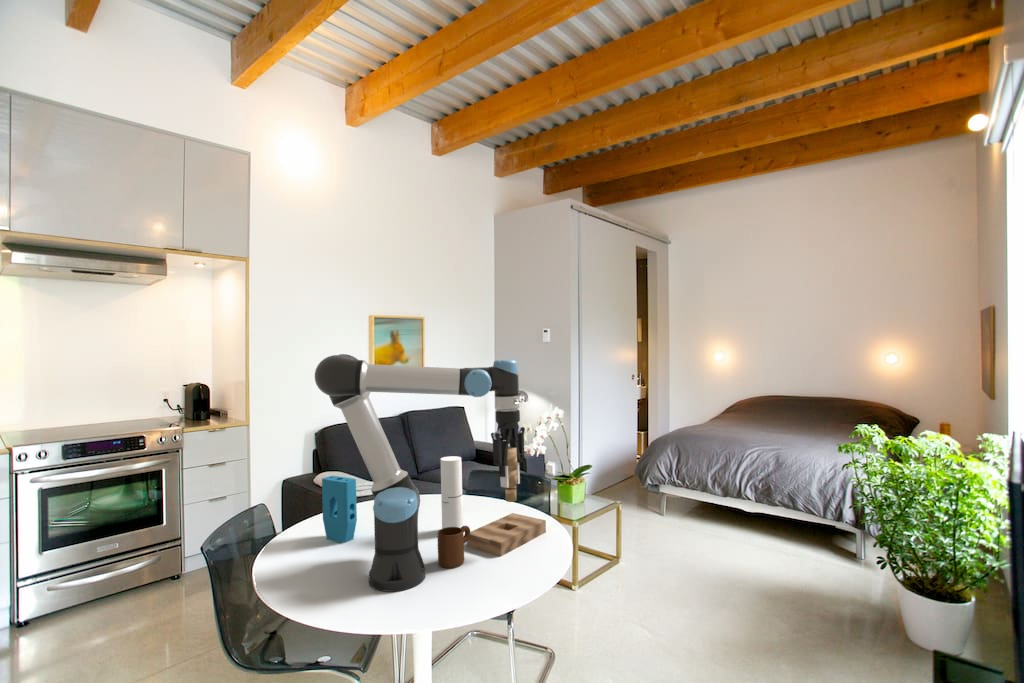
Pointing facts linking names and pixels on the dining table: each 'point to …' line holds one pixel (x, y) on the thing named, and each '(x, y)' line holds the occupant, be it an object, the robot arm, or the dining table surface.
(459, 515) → the cylindrical container
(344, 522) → the block
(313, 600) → the dining table surface
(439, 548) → the mug
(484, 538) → the seat board
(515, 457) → the oak peg
